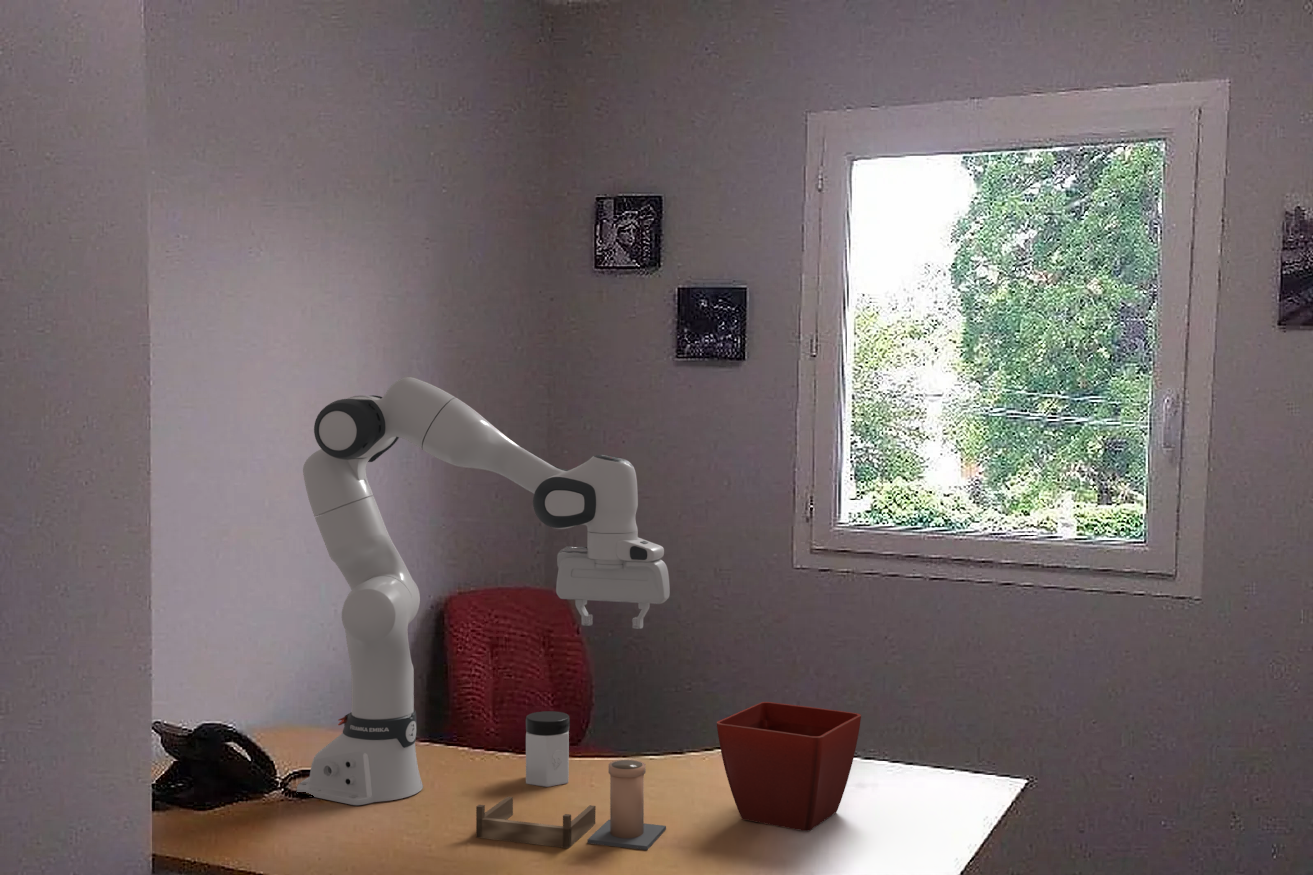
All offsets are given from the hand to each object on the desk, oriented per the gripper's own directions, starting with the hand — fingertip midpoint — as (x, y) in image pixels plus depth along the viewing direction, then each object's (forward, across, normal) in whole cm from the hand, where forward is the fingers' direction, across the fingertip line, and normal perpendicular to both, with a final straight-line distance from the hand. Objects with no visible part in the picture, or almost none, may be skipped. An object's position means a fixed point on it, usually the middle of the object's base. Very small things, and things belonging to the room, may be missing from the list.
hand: (612, 626), depth 210 cm
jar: (+31, -16, +9) cm, 36 cm away
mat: (+31, +8, -15) cm, 35 cm away
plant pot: (+31, +31, +3) cm, 44 cm away
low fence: (+31, -7, -16) cm, 36 cm away
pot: (+30, +8, -15) cm, 35 cm away
